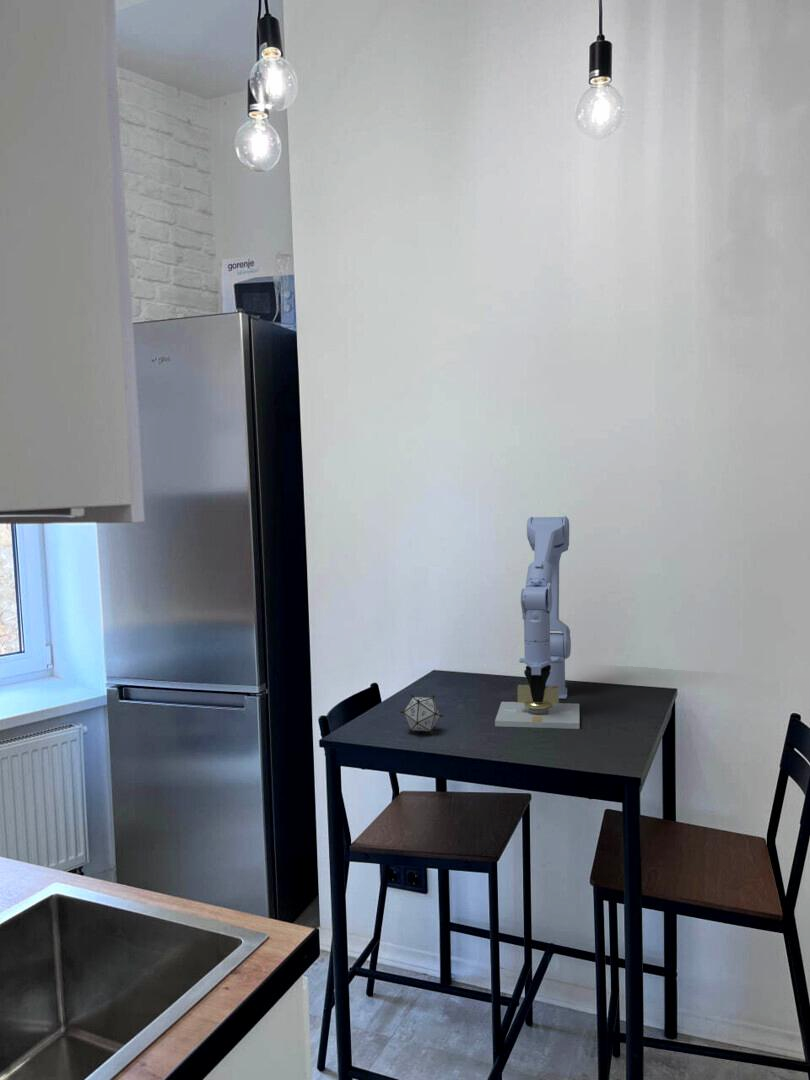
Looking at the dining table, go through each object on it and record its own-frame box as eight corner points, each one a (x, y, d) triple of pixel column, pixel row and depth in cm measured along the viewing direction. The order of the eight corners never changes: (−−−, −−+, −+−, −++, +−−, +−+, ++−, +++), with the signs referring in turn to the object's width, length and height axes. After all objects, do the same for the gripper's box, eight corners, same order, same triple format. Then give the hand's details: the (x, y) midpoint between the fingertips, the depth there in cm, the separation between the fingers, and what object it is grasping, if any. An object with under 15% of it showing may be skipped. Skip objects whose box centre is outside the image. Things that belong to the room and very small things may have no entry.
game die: (429, 747, 182) (455, 708, 183) (420, 744, 174) (447, 704, 175) (397, 723, 185) (423, 685, 186) (386, 719, 177) (413, 680, 178)
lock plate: (501, 706, 199) (501, 696, 199) (579, 708, 195) (579, 698, 195) (495, 726, 183) (494, 715, 183) (579, 728, 179) (579, 717, 179)
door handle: (519, 701, 193) (518, 681, 193) (559, 702, 191) (558, 682, 191) (517, 708, 187) (516, 688, 186) (558, 709, 185) (558, 689, 185)
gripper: (521, 633, 196) (522, 691, 197) (516, 645, 182) (518, 707, 183) (552, 633, 194) (553, 691, 195) (550, 646, 180) (551, 708, 181)
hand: (538, 699), depth 189 cm, fingers closed on door handle, 3 cm apart
